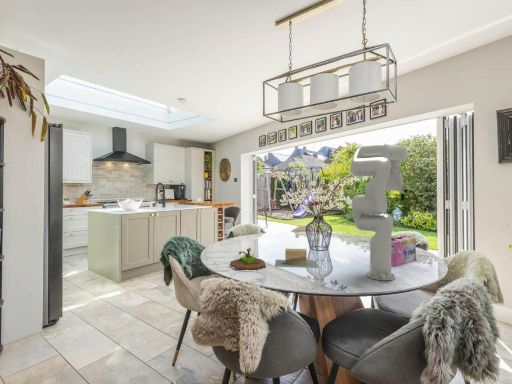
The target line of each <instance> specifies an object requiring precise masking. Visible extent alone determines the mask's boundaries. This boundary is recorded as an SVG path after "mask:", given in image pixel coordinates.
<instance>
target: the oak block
mask: <svg viewBox="0 0 512 384" xmlns="http://www.w3.org/2000/svg"><path fill="white" fill-rule="evenodd" d="M307 253H308V252H307V249H306V248H285V253H284V255H285V259H284V260H285V264H289V265H307V260H308V259H307V256H308V255H307Z"/></svg>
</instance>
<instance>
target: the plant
mask: <svg viewBox="0 0 512 384" xmlns="http://www.w3.org/2000/svg"><path fill="white" fill-rule="evenodd" d="M251 251H252V248H251V247H248V248H246V252H245V251H239V252H238V255H241V254H242V253H243V254H242V255H241V256H239V257H238V258H237V259H233V260H230V267H231V266H232V267H234V268H235V269H237V270H257V271H259V270H264V269H263V268H265V269H267V268H266V267H267V264H266V262H265V260H263V259H261V258H258V256H255V254H253V253H252V254H251V253H250V252H251ZM235 269H234V270H235ZM258 269H259V270H258ZM237 270H236V271H237Z"/></svg>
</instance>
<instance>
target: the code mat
mask: <svg viewBox="0 0 512 384" xmlns="http://www.w3.org/2000/svg"><path fill="white" fill-rule="evenodd" d="M274 267H275V268H303V269H304V268H306V269H307V268H310V269H318V268H319V266H318V264H317V261H316V260H308V259H307V265H289V264H285V259H275V262H274Z"/></svg>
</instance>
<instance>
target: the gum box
mask: <svg viewBox="0 0 512 384" xmlns="http://www.w3.org/2000/svg"><path fill="white" fill-rule="evenodd" d="M415 261H417V244H416V237H413V238H412V237H407V236H404V235H403V236H398V237H394V238H391V265H392V266H391V267H398V266H402V265H405V264H409V263H411V262H415ZM408 262H409V263H408Z"/></svg>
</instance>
